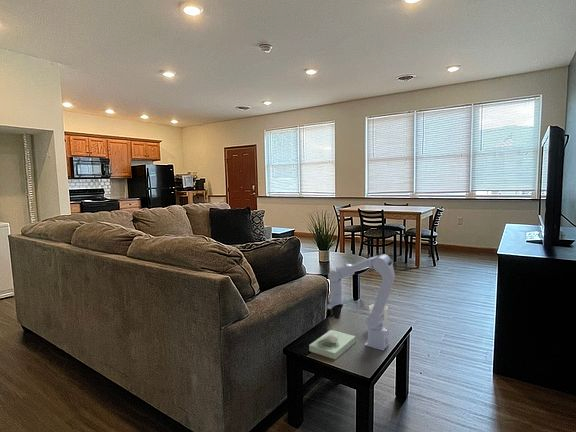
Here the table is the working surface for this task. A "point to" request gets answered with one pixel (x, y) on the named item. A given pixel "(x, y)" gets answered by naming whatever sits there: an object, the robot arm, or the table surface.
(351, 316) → the table surface
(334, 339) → the ball
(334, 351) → the putting board
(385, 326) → the candle holder
